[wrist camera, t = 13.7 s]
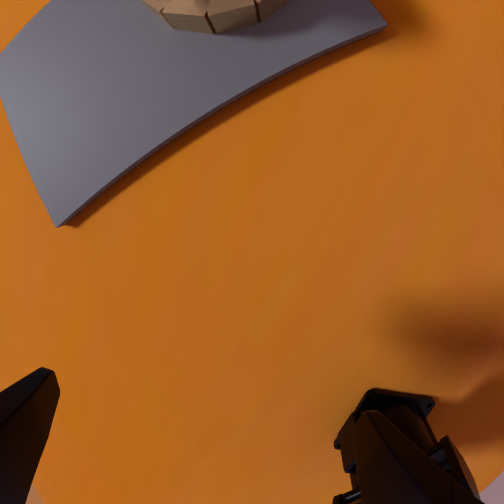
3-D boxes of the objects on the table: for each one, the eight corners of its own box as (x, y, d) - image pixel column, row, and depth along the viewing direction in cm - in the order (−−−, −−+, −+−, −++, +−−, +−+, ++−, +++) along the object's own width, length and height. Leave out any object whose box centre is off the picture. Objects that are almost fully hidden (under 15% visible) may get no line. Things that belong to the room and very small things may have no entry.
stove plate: (248, -104, 12) (246, -112, 11) (382, 30, 14) (387, 24, 14) (-1, 66, 16) (-9, 64, 15) (64, 224, 19) (56, 227, 18)
